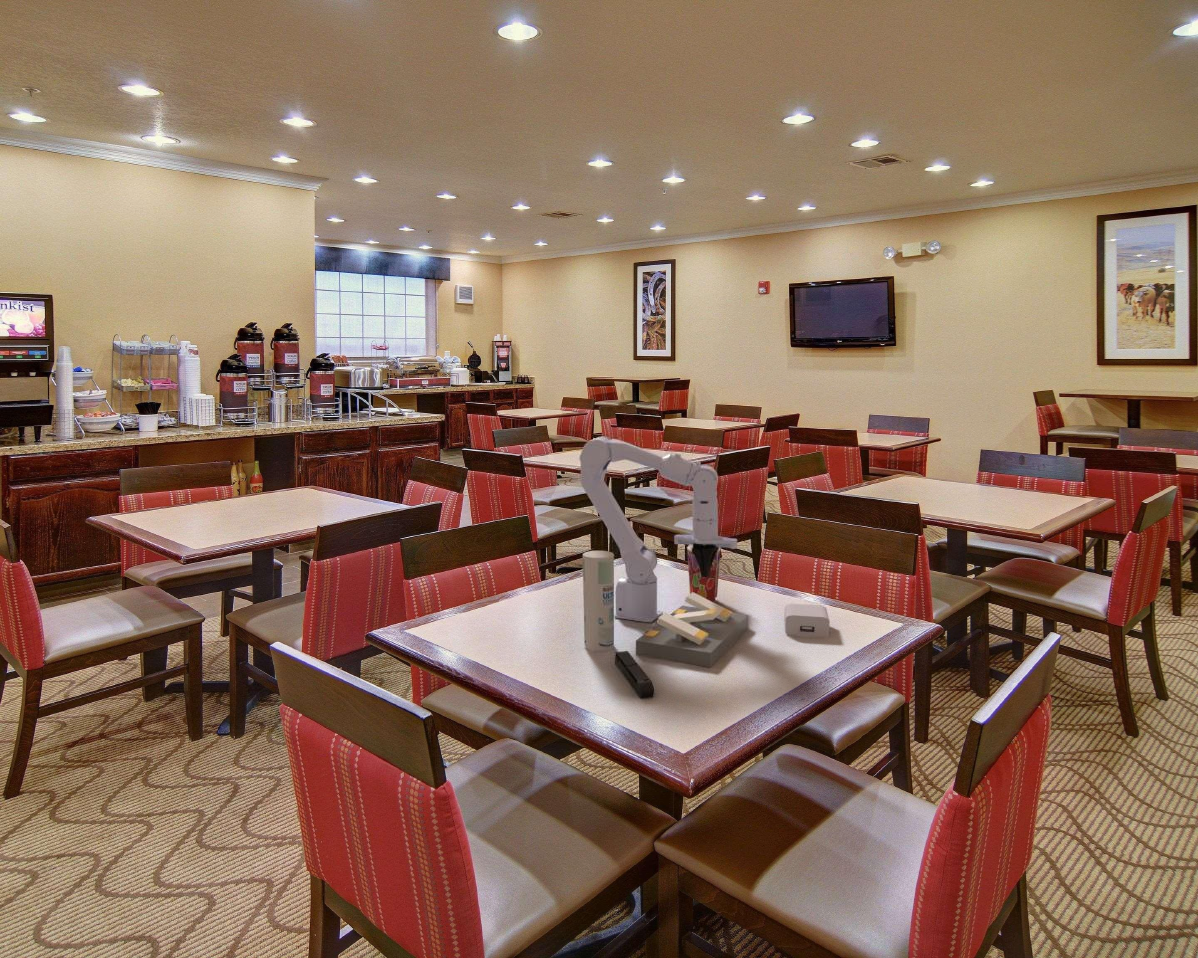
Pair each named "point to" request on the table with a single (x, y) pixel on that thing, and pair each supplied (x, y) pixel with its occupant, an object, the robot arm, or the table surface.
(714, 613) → the block
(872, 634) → the table surface
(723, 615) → the block
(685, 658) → the switch panel
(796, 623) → the charger
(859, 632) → the table surface
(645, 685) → the black long bar
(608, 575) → the spray can
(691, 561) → the smoothie
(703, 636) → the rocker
